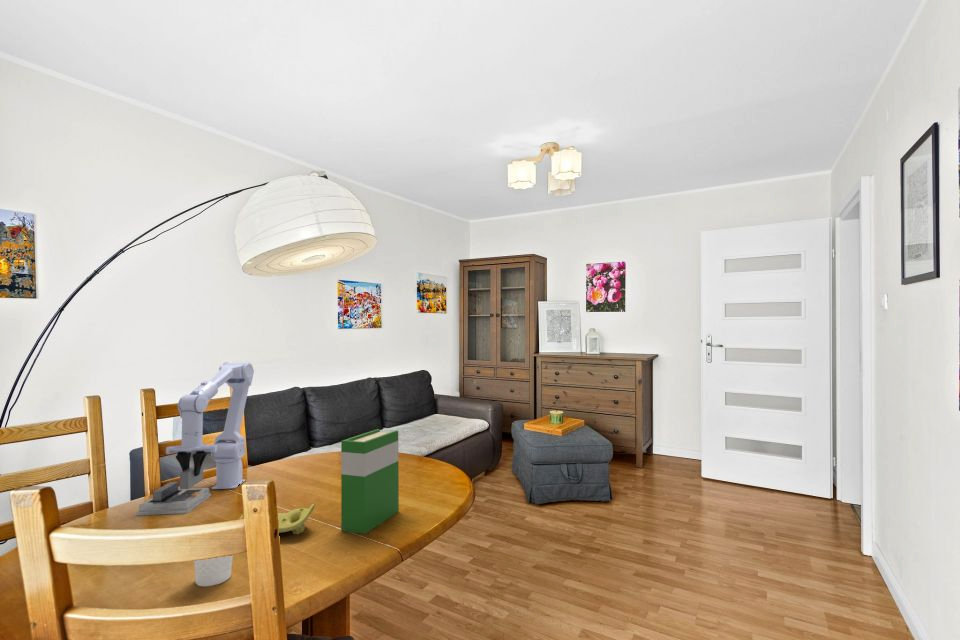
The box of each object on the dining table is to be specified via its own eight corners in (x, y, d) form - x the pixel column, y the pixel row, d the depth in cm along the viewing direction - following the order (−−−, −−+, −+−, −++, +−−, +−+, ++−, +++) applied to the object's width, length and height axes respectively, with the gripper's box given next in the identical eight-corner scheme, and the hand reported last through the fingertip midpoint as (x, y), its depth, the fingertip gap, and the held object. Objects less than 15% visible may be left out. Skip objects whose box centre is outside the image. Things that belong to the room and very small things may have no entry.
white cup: (194, 592, 99) (195, 542, 99) (190, 577, 105) (191, 530, 105) (236, 580, 103) (237, 533, 104) (230, 567, 110) (231, 522, 110)
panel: (194, 480, 157) (195, 464, 158) (203, 480, 158) (203, 464, 158) (179, 489, 148) (179, 473, 148) (188, 489, 148) (188, 472, 148)
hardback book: (377, 508, 147) (377, 429, 147) (398, 511, 144) (398, 430, 145) (341, 530, 130) (341, 440, 131) (364, 533, 127) (364, 442, 128)
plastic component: (231, 529, 126) (253, 500, 135) (241, 549, 129) (261, 520, 138) (299, 528, 122) (317, 499, 131) (308, 549, 125) (324, 519, 134)
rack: (166, 498, 159) (166, 479, 159) (210, 496, 160) (211, 477, 160) (136, 515, 143) (137, 495, 143) (186, 513, 144) (186, 493, 144)
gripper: (161, 435, 148) (160, 480, 148) (210, 434, 150) (210, 478, 149) (173, 431, 155) (172, 473, 155) (220, 429, 157) (219, 471, 156)
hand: (191, 475), depth 153 cm, fingers closed on panel, 2 cm apart
